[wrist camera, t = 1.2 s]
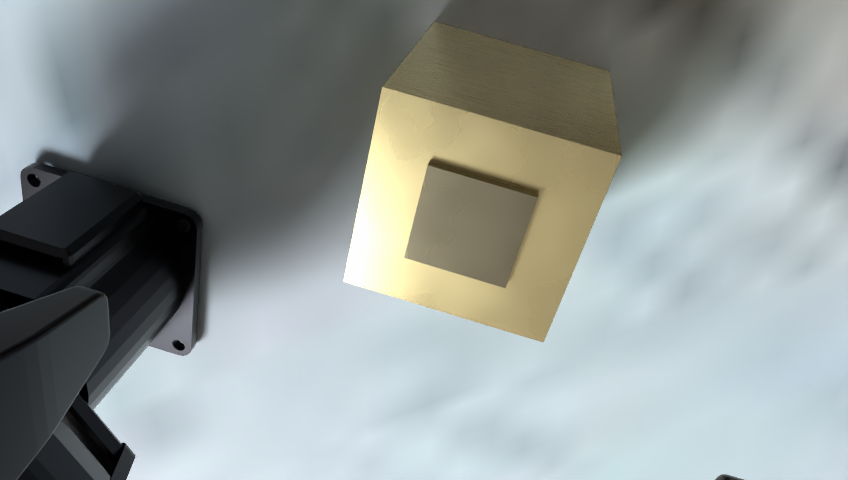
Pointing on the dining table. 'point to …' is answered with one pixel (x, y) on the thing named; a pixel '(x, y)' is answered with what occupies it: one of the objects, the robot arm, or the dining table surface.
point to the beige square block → (484, 179)
